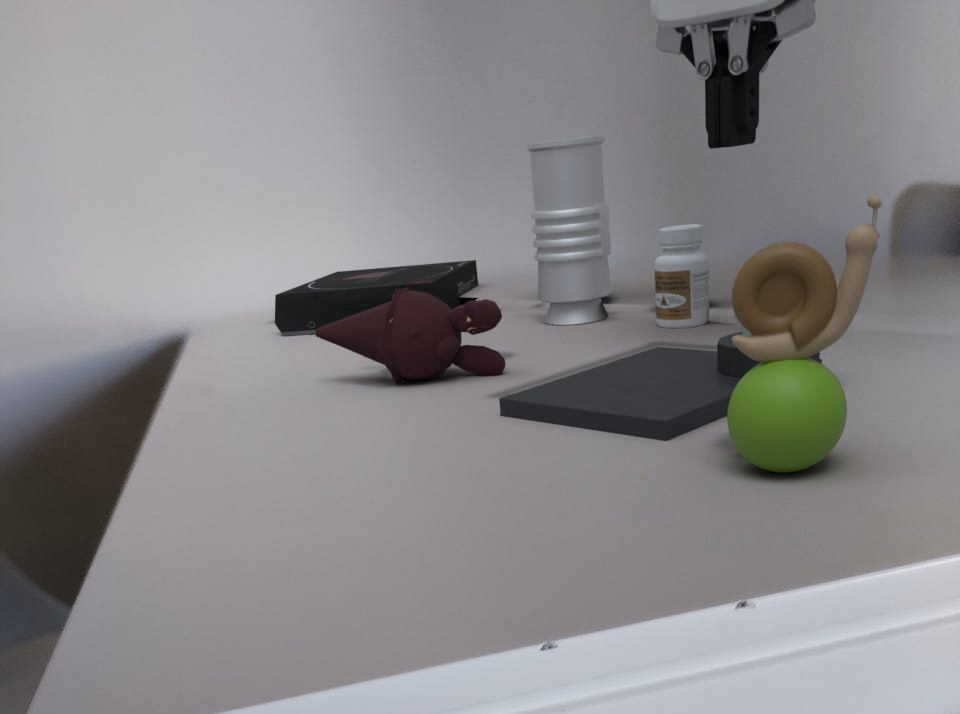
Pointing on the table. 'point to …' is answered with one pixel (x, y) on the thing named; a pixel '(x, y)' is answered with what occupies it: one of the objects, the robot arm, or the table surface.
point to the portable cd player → (368, 293)
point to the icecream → (419, 336)
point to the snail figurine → (794, 349)
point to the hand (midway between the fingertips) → (732, 145)
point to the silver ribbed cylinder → (571, 228)
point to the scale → (641, 392)
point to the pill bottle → (682, 278)
